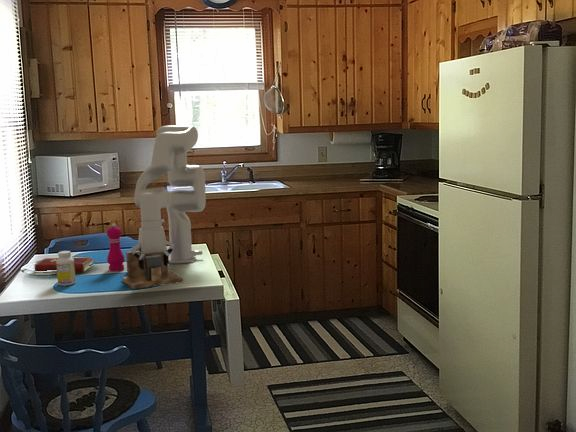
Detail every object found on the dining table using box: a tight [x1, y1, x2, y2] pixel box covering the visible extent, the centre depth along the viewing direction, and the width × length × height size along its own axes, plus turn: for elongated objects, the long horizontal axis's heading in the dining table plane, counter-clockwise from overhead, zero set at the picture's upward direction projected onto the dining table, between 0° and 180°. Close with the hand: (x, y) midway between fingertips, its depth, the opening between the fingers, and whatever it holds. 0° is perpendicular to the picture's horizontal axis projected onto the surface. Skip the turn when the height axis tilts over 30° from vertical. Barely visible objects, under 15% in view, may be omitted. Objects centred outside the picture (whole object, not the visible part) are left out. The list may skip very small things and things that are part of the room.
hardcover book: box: [34, 257, 93, 273], centre depth 296 cm, size 12×21×4 cm, turn 88°
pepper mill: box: [106, 222, 126, 272], centre depth 291 cm, size 7×7×20 cm
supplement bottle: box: [56, 250, 76, 287], centre depth 270 cm, size 7×7×13 cm
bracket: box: [145, 255, 163, 281], centre depth 269 cm, size 6×2×9 cm, turn 118°
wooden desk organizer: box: [121, 248, 184, 290], centre depth 271 cm, size 20×15×12 cm
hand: (154, 267), depth 269 cm, fingers open, 9 cm apart
